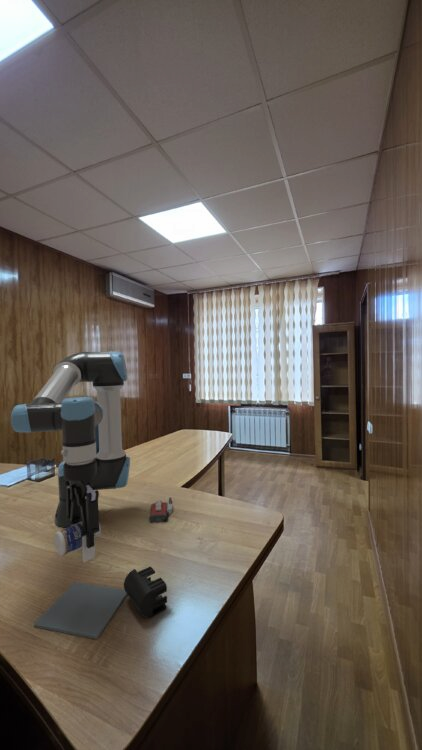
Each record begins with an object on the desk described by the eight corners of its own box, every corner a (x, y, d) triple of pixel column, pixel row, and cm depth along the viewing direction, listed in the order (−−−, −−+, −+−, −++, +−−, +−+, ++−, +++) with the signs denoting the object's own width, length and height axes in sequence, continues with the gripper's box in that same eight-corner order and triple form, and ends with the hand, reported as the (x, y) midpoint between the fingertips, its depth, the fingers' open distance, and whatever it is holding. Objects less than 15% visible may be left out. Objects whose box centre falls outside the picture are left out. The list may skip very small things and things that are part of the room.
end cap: (123, 599, 78) (122, 573, 78) (149, 587, 82) (148, 562, 82) (140, 625, 70) (139, 596, 70) (168, 610, 74) (167, 582, 74)
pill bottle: (55, 527, 73) (94, 512, 80) (52, 544, 75) (91, 528, 82) (63, 544, 70) (104, 527, 77) (60, 561, 71) (100, 543, 78)
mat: (34, 626, 70) (34, 624, 70) (74, 584, 84) (74, 582, 84) (97, 639, 67) (97, 636, 67) (128, 592, 80) (128, 590, 80)
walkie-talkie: (172, 523, 116) (172, 501, 136) (172, 512, 116) (172, 491, 136) (148, 525, 115) (152, 502, 135) (148, 514, 115) (152, 492, 135)
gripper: (49, 457, 80) (53, 546, 80) (81, 472, 67) (85, 578, 68) (78, 451, 85) (81, 534, 86) (113, 464, 73) (116, 562, 73)
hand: (83, 553), depth 77 cm, fingers closed on pill bottle, 5 cm apart
